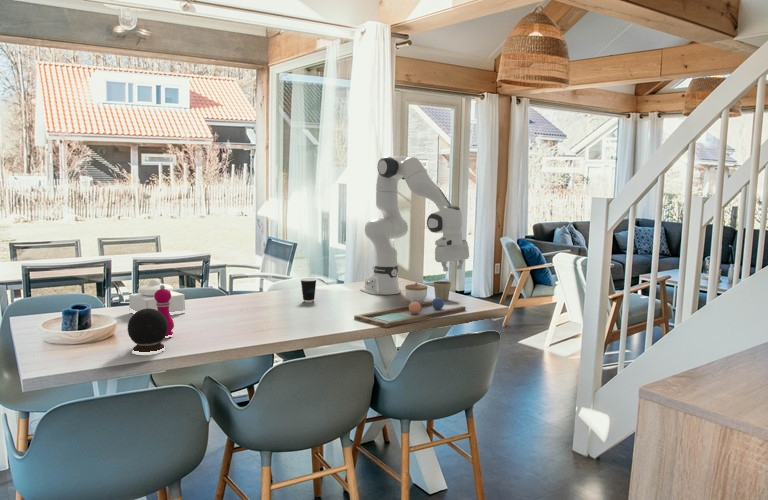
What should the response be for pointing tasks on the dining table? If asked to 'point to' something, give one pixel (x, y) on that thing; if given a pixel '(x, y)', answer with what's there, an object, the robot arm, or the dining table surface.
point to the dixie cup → (308, 289)
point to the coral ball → (414, 307)
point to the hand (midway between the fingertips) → (452, 270)
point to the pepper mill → (164, 306)
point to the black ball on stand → (147, 330)
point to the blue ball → (438, 303)
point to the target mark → (391, 317)
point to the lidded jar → (416, 292)
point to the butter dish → (148, 301)
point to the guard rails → (367, 318)
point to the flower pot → (442, 289)
